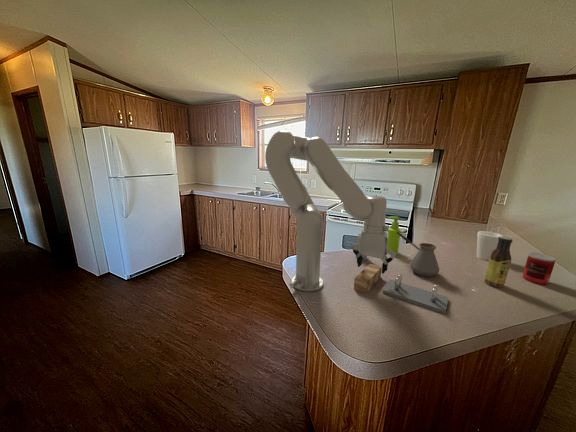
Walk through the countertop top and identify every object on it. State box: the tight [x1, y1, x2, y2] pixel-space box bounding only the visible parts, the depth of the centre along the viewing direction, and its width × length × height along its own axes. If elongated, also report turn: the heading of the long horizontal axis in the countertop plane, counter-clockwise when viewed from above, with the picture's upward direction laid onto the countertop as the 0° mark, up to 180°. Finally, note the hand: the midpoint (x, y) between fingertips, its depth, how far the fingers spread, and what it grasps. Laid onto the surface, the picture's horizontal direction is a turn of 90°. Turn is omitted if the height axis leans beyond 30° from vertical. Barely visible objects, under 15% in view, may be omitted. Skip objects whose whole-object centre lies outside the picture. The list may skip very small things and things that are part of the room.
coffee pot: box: [395, 232, 440, 278], centre depth 106 cm, size 21×12×15 cm, turn 31°
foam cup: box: [476, 230, 504, 261], centre depth 118 cm, size 10×9×13 cm
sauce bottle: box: [484, 236, 513, 288], centre depth 93 cm, size 6×6×20 cm
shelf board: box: [353, 263, 382, 294], centre depth 95 cm, size 16×5×5 cm, turn 140°
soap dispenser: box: [387, 215, 402, 255], centre depth 123 cm, size 6×7×20 cm
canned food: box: [522, 252, 556, 286], centre depth 97 cm, size 8×8×11 cm
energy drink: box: [355, 233, 368, 261], centre depth 117 cm, size 5×5×12 cm
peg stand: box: [382, 273, 449, 315], centre depth 85 cm, size 10×20×6 cm, turn 52°
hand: (371, 268), depth 94 cm, fingers open, 9 cm apart
